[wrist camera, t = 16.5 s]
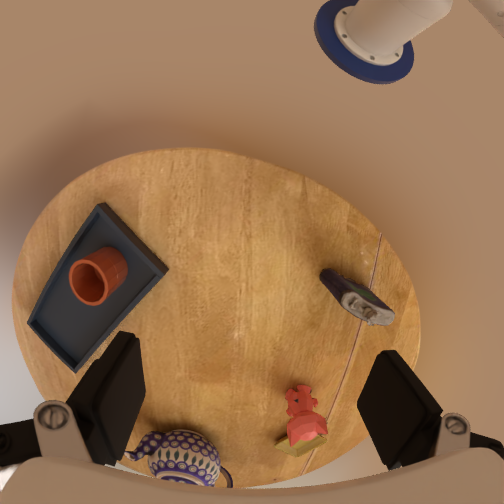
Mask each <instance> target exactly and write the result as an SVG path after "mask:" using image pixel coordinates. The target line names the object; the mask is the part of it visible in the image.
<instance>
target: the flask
mask: <svg viewBox="0 0 504 504" xmlns="http://www.w3.org/2000/svg"><path fill="white" fill-rule="evenodd" d="M320 280H321V282H322V283H323V284H324V285H325V286H326V287H327V288H328V290H329V291H330V292H331V293H332V294H333V296H334V297H335V298H336V299H337V301H338V302H339V303H340V305H341V306H342V307H343V308H344V309H346V310H347V311H348V312H350V313H351V314H352V315H354V316H356V317H357V318H360V319H361V320H364V321H367V324H368V325H369V326H370V325H371V323H373V324H372V326H374V324H377V325H389V324H390V323H391V322H392V321H393V320H394V316H395V313H394V312H393V310H392V309H390V308H389V307H388V306H387V305H386V304H385V303H384V302H382V301H381V300H380V299H379V298H378V297H377V296H376V295H375V294H374V293H373V292H372V291H371V290H370V289H369V288H367V287H366V286H364V285H362V284H358V283H356V282H355V281H354V280H352V279H350V278H344V276H343V275H339V274H338V273H337V272H335V271H334V270H332V269H331V268H328V269H323V271H322V272H321V274H320Z"/></svg>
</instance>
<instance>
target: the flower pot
mask: <svg viewBox="0 0 504 504" xmlns="http://www.w3.org/2000/svg"><path fill="white" fill-rule="evenodd" d="M127 274H128V266H127V262H126V260H125V258H124V256H123V255H122V254H121V252H119V251H118V250H117V249H115V248H113V247H102V248H100V249H97V250H96V251H94V252H92V253H90V254H88V255H86V256H85V257H83V258H81V259H79V260H77V261H76V262H75V263H74V264H73V265H72V266H71V268H70V272H69V283H70V286H71V289H72V291H73V293H74V294H75V295H76V297H77V298H78V299H79V300H80V301H82V302H83V303H85V304H87V305H92V306H95V305H99V304H101V303H102V302H103V301H104V300H105V299H106V298H107V297H108V296H110V295H111V294H112V293H113V292H114V291H115V290H116V289H117V288H118V287H119V286H120V285H121V284H122V283H123V282H124V281H125V279H126V277H127Z"/></svg>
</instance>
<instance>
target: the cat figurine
mask: <svg viewBox="0 0 504 504" xmlns="http://www.w3.org/2000/svg"><path fill="white" fill-rule="evenodd" d="M297 389H298V391H299V392H296V391H294V390H293V389H288V391H287V392H286V396H285V399H286V400H288V409H287V410H286V412H287V414H288V415H289V416H293V418H292V419H290V421H289V422H288V424H287V435H288V439H289V443H290V447H292V446H293V445H294V444H296V443H297V442H298V441H299V440H303V441H308V440H312V439H313V438H315V437H316V436H317V435H318V434H319V433H321V434H328V431H327V426H326V424H327V423H326V420H325V419H326V418H323V417H322V416H321V415H319V414H317V413H315V412H313V411H312V409H313V405H314V407H316V406H317V405H318V401H317V399H315V398H312V397H311V395H310V393H311V388H310V387H308V386H306V385H298V386H297Z"/></svg>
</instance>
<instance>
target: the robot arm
mask: <svg viewBox="0 0 504 504" xmlns="http://www.w3.org/2000/svg"><path fill="white" fill-rule="evenodd" d="M469 1H470V2H471V3H472V4H473V5H474V6H475V7H476V8H477V9H478V10H479V12H480V13H481V14H482V15H483V16H484V17H485V18H486V19H487V20H488V21H489V23H491V25H492V26H493V27H494V28H495V29H496V30H497V31H498V32H499V34H500V35H501V36H502V37H504V0H469ZM452 4H453V0H359V1H358V2H357V4H356V5H355V6H349V7H345V8H343V9H342V10H340V11H339V12H338V14H337V15H336V17H335V20H334V28H335V32H336V35H337V37H338V39H339V40H340V42H341V43H342V44H343V45H344V46H345V48H346V49H347V50H349V51H350V52H351V53H352V54H353V55H355V56H356V57H358V58H359V59H361V60H363V61H365V62H367V63H370V64H373V65H378V66H386V65H391V64H393V63H395V62H396V61H398V60H399V59H400V58H401V56H402V53H403V45H404V44H405V43H407V42H408V41H409V40H411V39H412V38H414V37H415V36H416V35H418V34H419V33H421V32H422V31H424V30H425V29H427V28H428V27H429V26H431V25H432V24H434V23H435V22H437V21H439V20H440V19H441V18H443V17H445V16H446V15H447V14H448V13H449V12H450V10H451V8H452ZM145 393H146V389H145V382H144V374H143V367H142V358H141V349H140V340H139V338H136V337H135V334H134V333H129V332H124V331H119V332H118V333H117V335H116V336H115V338H114V339H113V340H112V342H111V343H110V344H109V346H108V347H107V349H106V350H105V351H104V353H103V354H102V356H101V357H100V359H96V360H95V361H94V362H93V363H92V365H91V366H90V367H89V369H88V370H87V372H86V373H85V375H84V376H83V377H82V379H81V380H80V382H79V383H78V385H77V386H76V388H75V389H74V391H73V392H72V394H71V395H70V397H69V398H68V400H67V401H66V403H64V402H62V401H57V400H49V401H45V402H43V403H41V404H40V405H39V406H38V407H37V408H36V409H35V412H34V419H29V420H25V421H21V422H15V423H9V424H3V425H0V504H504V447H503V445H502V443H501V442H500V441H497V440H495V439H492V438H488V437H485V436H482V435H478V434H475V433H472V432H470V424H469V422H468V421H467V419H466V418H465V417H463V416H462V415H460V414H457V413H448V414H446V415H444V416H443V417H441V416H440V415H441V413H442V411H443V410H442V408H441V407H440V405H439V404H438V403H437V402H436V400H435V399H434V398H433V396H432V395H431V394H430V392H429V391H428V390H427V389H426V387H425V386H424V385H423V383H422V382H421V381H420V380H419V378H418V377H417V376H416V375H415V373H414V372H413V371H412V370H411V368H410V367H409V366H408V365H407V363H406V362H405V361H404V360H403V358H402V357H401V356H400V355H399V354H398V352H397V351H396V350H383V351H382V352H381V353H380V354H378V355H377V357H376V359H375V362H374V364H373V367H372V369H371V371H370V374H369V376H368V378H367V381H366V383H365V385H364V388H363V390H362V392H361V394H360V396H359V398H358V401H357V408H358V410H359V412H360V415H361V417H362V419H363V421H364V423H365V425H366V428H367V430H368V432H369V434H370V436H371V438H372V441H373V443H374V445H375V447H376V450H377V452H378V454H379V456H380V458H381V461H382V463H383V464H384V465H386V466H387V468H388V470H389V471H388V472H384V473H380V474H376V475H372V476H368V477H364V478H359V479H354V480H349V481H343V482H337V483H331V484H324V485H316V486H305V487H294V488H274V489H244V488H223V487H211V486H201V485H193V484H186V483H179V482H173V481H168V480H162V479H157V478H152V477H147V476H142V475H138V474H134V473H130V472H126V471H123V470H118V469H114V468H110V467H107V466H104V465H105V464H108V465H112V466H115V464H116V461H117V460H119V461H120V460H121V459H122V457H123V455H124V452H125V449H126V446H127V443H128V440H129V438H130V435H131V432H132V430H133V427H134V424H135V421H136V419H137V416H138V414H139V411H140V408H141V406H142V403H143V401H144V398H145ZM401 465H402V468H400V466H401ZM396 468H398V469H396ZM393 469H395V470H393ZM390 470H392V471H390Z"/></svg>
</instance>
